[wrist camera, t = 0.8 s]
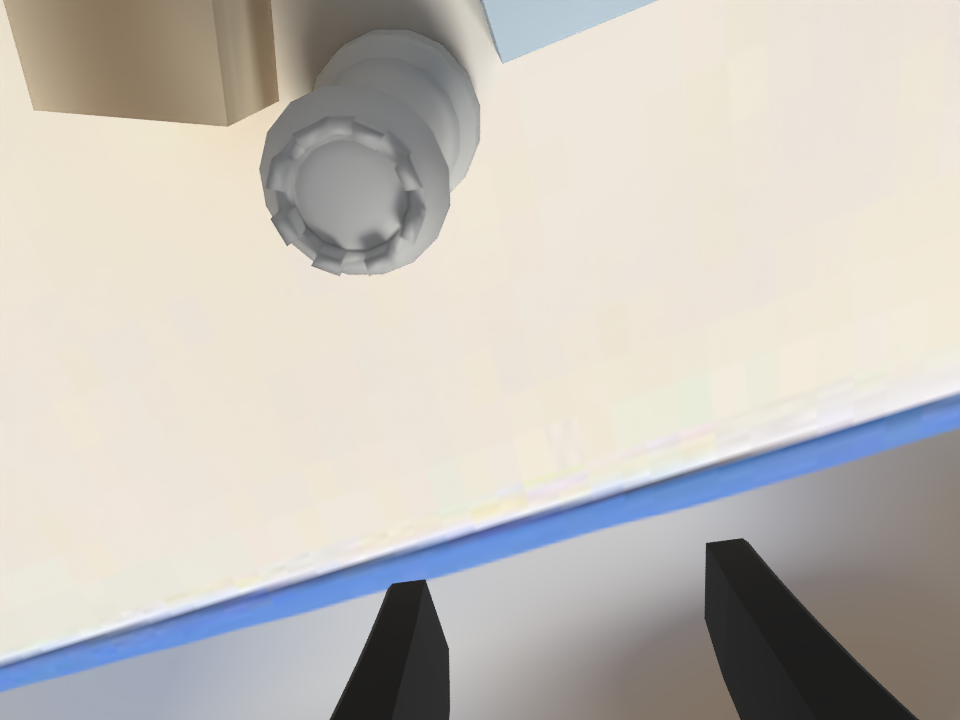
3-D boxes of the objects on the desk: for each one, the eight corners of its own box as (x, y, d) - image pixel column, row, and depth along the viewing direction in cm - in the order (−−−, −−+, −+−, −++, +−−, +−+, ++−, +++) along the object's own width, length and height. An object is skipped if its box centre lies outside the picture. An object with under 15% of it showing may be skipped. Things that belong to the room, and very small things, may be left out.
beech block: (264, -82, 14) (197, -109, 11) (279, 100, 16) (227, 126, 13) (91, -100, 14) (-34, -133, 11) (128, 87, 16) (34, 110, 13)
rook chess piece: (293, 47, 15) (148, 83, 9) (462, 9, 15) (452, 12, 8) (346, 214, 18) (265, 347, 11) (494, 184, 17) (508, 303, 10)
